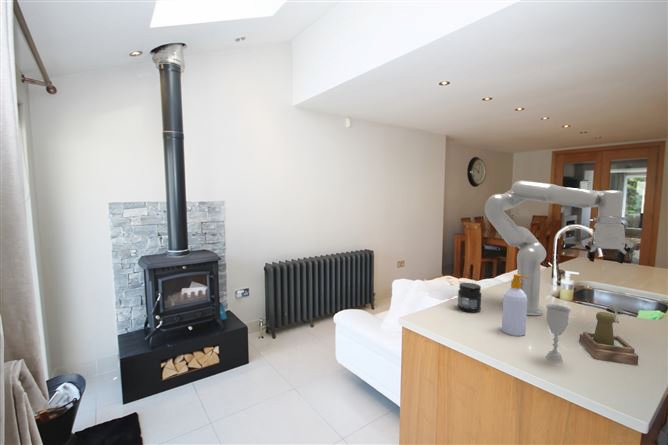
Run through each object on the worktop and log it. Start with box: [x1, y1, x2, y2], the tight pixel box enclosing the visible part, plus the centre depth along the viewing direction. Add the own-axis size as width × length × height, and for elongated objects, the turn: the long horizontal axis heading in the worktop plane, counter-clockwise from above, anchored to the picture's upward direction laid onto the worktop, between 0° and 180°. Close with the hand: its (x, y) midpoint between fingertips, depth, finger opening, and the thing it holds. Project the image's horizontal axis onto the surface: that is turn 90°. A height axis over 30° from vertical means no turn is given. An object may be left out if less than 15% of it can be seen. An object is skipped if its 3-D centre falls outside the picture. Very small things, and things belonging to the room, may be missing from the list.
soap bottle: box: [501, 273, 529, 337], centre depth 134 cm, size 9×9×24 cm
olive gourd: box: [593, 311, 616, 346], centre depth 118 cm, size 6×6×11 cm
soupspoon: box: [606, 306, 625, 324], centre depth 154 cm, size 22×3×7 cm
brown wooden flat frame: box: [578, 331, 639, 365], centre depth 118 cm, size 12×14×4 cm
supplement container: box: [457, 282, 482, 314], centre depth 160 cm, size 10×10×12 cm
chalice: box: [545, 303, 571, 364], centre depth 112 cm, size 7×7×18 cm
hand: (605, 262), depth 137 cm, fingers open, 9 cm apart
